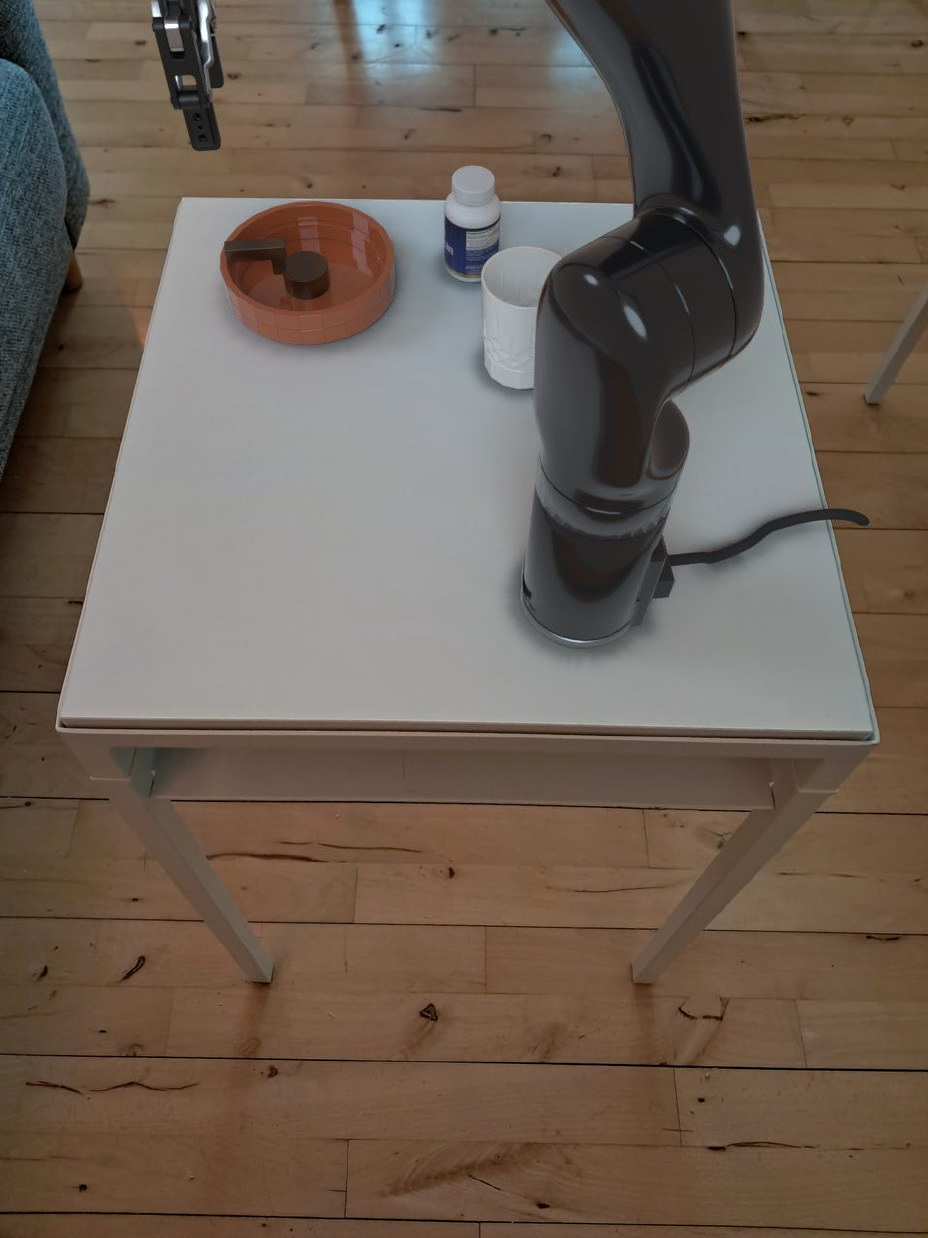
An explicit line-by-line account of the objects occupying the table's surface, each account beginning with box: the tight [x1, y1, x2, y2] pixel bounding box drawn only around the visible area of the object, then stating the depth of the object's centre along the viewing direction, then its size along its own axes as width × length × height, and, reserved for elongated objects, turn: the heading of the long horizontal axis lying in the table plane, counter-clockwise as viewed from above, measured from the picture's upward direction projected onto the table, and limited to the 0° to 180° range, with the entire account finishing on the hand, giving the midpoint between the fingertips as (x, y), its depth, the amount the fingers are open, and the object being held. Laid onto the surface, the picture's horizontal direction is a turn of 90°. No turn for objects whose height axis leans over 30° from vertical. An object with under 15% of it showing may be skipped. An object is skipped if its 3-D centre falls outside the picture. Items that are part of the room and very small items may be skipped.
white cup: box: [480, 245, 563, 390], centre depth 84 cm, size 8×8×10 cm
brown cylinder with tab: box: [223, 238, 330, 300], centre depth 90 cm, size 9×4×5 cm, turn 97°
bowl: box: [219, 200, 397, 346], centre depth 91 cm, size 16×16×4 cm
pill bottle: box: [443, 165, 502, 283], centre depth 91 cm, size 5×5×10 cm
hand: (209, 115), depth 74 cm, fingers open, 8 cm apart
